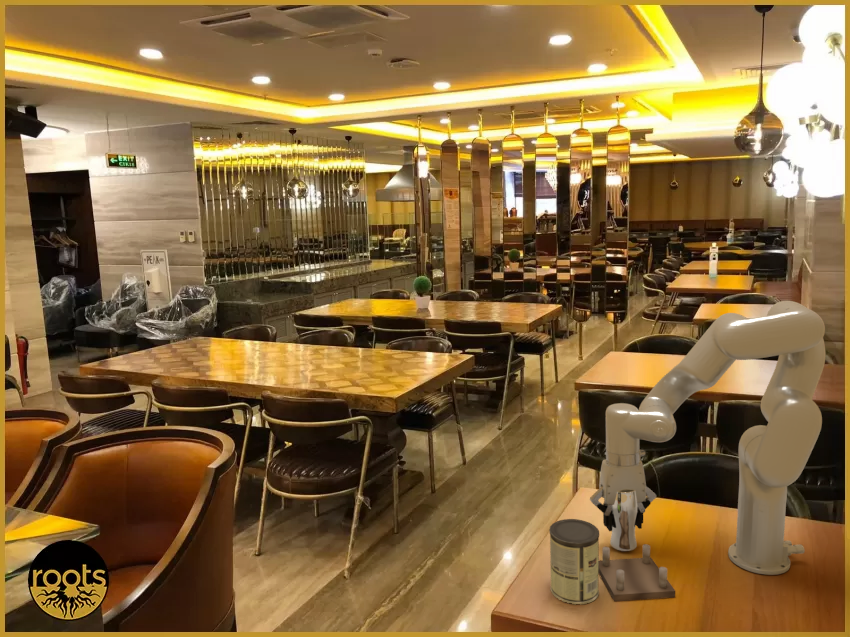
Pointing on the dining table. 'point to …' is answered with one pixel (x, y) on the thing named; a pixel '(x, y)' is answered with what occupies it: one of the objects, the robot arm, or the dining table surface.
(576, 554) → the coffee can
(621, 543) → the beer glass
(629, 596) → the peg stand
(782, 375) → the robot arm
